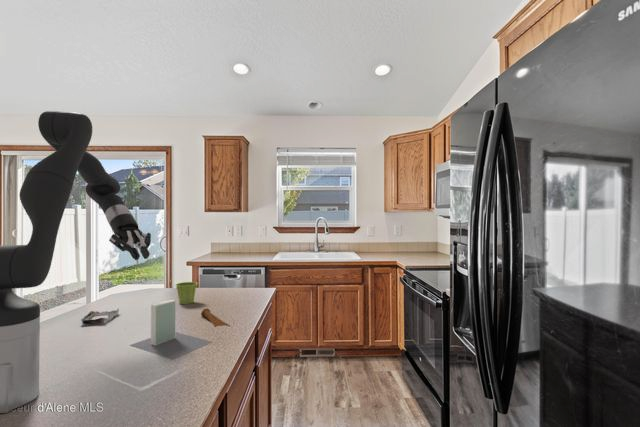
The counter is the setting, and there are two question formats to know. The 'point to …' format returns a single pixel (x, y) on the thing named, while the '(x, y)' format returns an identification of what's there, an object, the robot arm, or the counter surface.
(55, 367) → the counter surface
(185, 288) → the plant pot
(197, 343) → the rubber mat
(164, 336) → the cream white block
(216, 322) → the primitive tool
